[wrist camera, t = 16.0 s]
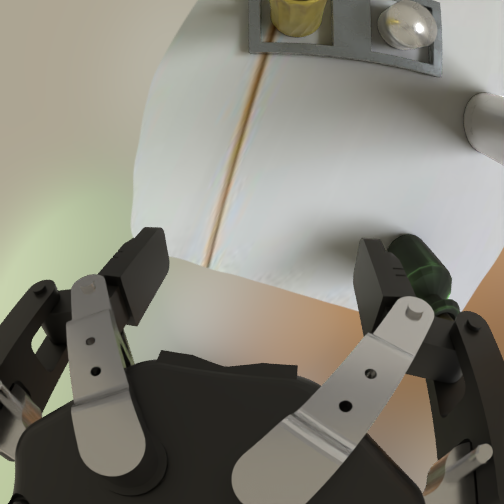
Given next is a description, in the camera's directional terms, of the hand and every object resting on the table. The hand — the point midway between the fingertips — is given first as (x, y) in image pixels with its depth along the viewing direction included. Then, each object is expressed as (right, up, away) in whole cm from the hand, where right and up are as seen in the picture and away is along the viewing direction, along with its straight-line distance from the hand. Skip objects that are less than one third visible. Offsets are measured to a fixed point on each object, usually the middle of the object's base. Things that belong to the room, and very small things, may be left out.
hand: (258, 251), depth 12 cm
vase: (+5, +28, +15) cm, 32 cm away
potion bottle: (+23, 0, +30) cm, 38 cm away
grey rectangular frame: (+11, +28, +14) cm, 33 cm away
